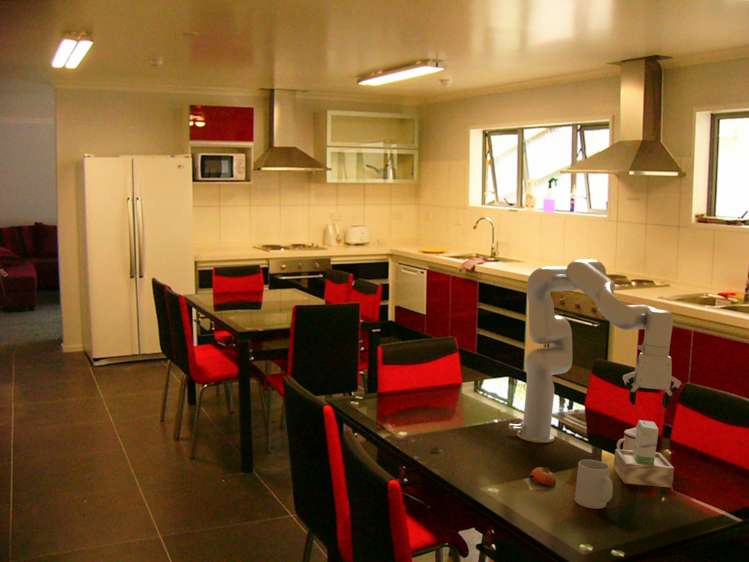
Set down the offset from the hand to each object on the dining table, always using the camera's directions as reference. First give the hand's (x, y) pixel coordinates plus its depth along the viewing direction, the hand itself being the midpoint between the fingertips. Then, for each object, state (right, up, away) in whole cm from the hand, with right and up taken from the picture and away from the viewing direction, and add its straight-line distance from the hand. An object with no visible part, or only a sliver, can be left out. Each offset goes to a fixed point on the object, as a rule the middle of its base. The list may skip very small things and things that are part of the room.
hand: (648, 405), depth 245 cm
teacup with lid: (+1, -21, +18) cm, 28 cm away
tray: (-1, -22, +2) cm, 23 cm away
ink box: (-1, -18, +2) cm, 18 cm away
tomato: (-34, -22, -9) cm, 41 cm away
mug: (-23, -24, -24) cm, 41 cm away
